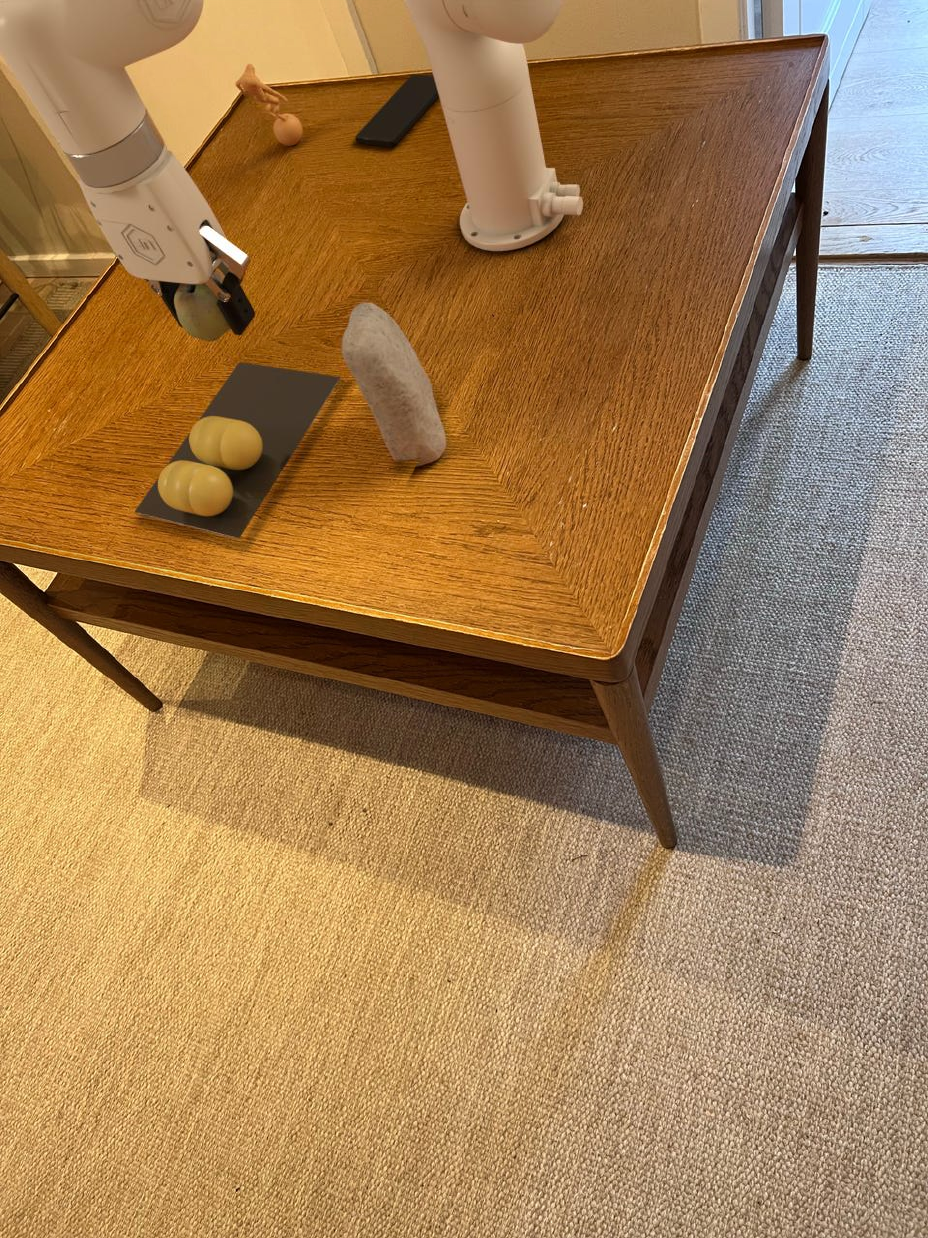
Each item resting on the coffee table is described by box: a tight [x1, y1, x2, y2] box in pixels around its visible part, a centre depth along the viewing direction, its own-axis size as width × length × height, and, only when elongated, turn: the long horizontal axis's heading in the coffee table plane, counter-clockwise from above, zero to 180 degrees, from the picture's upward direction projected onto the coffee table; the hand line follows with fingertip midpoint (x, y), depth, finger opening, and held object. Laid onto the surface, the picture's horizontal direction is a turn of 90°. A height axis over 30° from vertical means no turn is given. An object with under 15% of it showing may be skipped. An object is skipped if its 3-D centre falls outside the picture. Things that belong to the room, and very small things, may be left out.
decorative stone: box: [341, 302, 447, 468], centre depth 86 cm, size 11×6×15 cm, turn 5°
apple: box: [174, 269, 231, 342], centre depth 87 cm, size 6×8×6 cm
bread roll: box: [157, 460, 233, 516], centre depth 90 cm, size 8×5×5 cm, turn 65°
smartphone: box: [355, 74, 439, 148], centre depth 124 cm, size 7×1×15 cm
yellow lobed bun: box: [189, 416, 262, 470], centre depth 93 cm, size 8×5×5 cm, turn 65°
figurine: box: [234, 63, 303, 147], centre depth 123 cm, size 8×6×12 cm
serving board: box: [133, 361, 342, 540], centre depth 96 cm, size 14×22×2 cm, turn 155°
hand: (217, 320), depth 89 cm, fingers closed on apple, 6 cm apart
